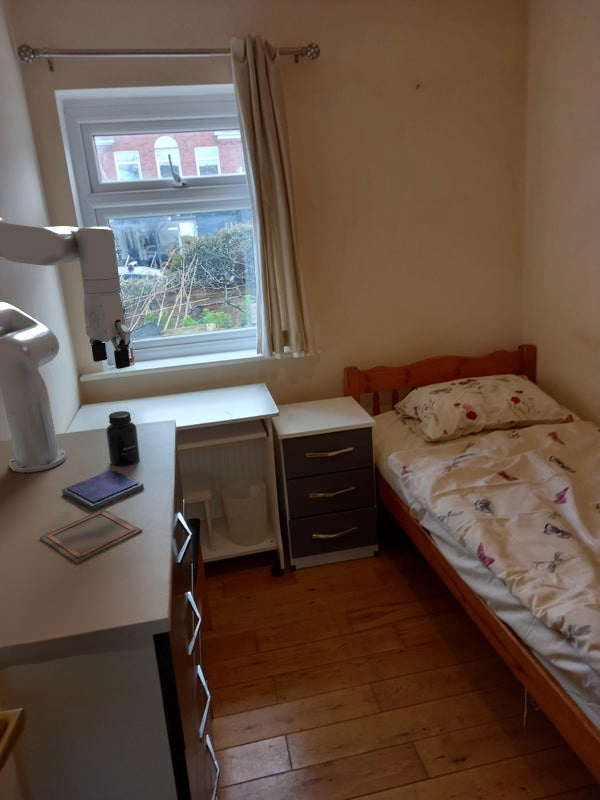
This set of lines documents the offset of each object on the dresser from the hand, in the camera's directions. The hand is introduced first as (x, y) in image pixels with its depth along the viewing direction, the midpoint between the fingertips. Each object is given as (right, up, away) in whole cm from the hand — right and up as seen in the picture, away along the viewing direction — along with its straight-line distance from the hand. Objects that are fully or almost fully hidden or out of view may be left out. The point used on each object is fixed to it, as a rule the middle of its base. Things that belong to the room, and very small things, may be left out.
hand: (111, 364), depth 127 cm
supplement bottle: (+1, -23, +9) cm, 25 cm away
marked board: (+4, -33, -23) cm, 40 cm away
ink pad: (0, -28, -6) cm, 28 cm away
